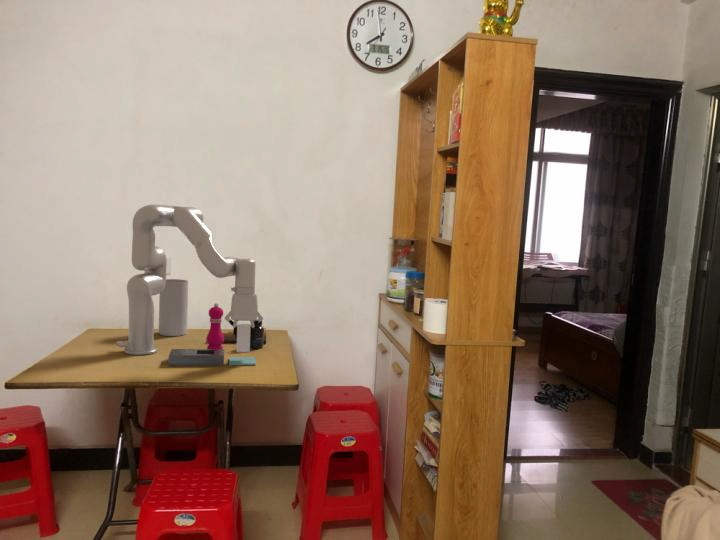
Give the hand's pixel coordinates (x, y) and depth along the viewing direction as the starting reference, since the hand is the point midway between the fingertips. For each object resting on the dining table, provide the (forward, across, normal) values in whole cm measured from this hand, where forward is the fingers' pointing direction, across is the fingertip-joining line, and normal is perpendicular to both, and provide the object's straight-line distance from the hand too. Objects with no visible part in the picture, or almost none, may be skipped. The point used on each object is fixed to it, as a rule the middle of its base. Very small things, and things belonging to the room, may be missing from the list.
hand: (243, 336), depth 226 cm
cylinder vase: (+10, -31, +52) cm, 62 cm away
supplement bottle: (+10, +6, +25) cm, 28 cm away
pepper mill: (+10, -11, +20) cm, 25 cm away
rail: (+10, -17, 0) cm, 20 cm away
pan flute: (+11, -1, +45) cm, 46 cm away
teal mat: (+10, 0, 0) cm, 10 cm away
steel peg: (+5, 0, 0) cm, 5 cm away
